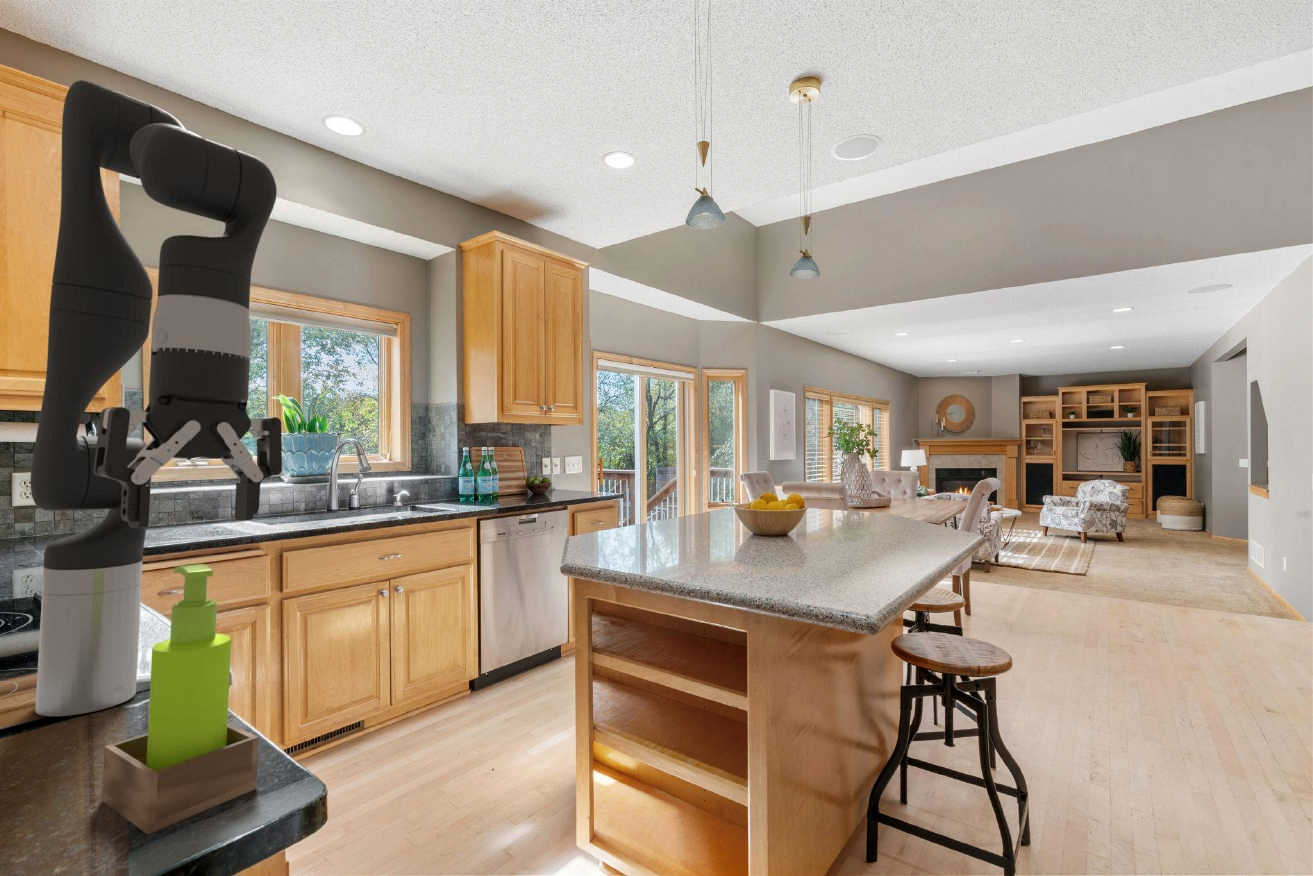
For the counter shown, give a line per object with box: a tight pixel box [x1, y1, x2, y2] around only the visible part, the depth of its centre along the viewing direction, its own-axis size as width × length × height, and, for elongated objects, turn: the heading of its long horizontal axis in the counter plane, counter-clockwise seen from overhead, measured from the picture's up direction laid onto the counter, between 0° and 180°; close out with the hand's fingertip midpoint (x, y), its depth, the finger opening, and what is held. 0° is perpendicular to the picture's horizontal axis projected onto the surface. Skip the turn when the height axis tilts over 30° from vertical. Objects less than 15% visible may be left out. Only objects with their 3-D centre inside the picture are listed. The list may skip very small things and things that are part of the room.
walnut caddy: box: [101, 722, 260, 835], centre depth 57 cm, size 9×8×5 cm
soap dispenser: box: [146, 563, 232, 771], centre depth 57 cm, size 6×7×20 cm
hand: (194, 523), depth 57 cm, fingers open, 8 cm apart
